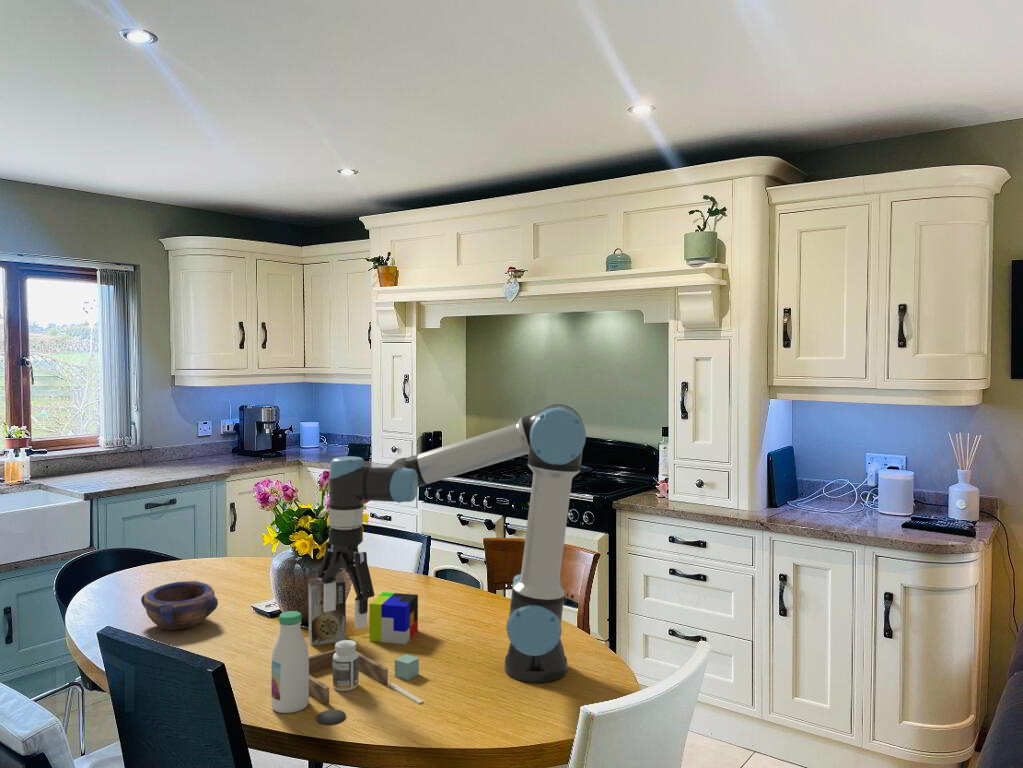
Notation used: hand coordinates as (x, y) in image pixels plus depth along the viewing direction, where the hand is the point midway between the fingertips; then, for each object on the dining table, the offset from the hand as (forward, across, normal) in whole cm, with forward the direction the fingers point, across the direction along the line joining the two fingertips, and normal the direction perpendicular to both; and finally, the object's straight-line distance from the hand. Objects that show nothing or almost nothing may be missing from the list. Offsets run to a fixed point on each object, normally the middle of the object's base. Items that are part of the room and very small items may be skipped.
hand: (344, 618), depth 173 cm
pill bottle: (+16, 0, 0) cm, 16 cm away
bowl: (+16, +64, +14) cm, 67 cm away
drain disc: (+16, -11, +10) cm, 22 cm away
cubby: (+16, +4, 0) cm, 16 cm away
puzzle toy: (+16, +19, -26) cm, 36 cm away
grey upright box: (+16, +28, -11) cm, 34 cm away
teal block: (+16, -4, -14) cm, 22 cm away
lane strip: (+15, -12, -8) cm, 21 cm away
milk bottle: (+16, -1, +14) cm, 21 cm away
